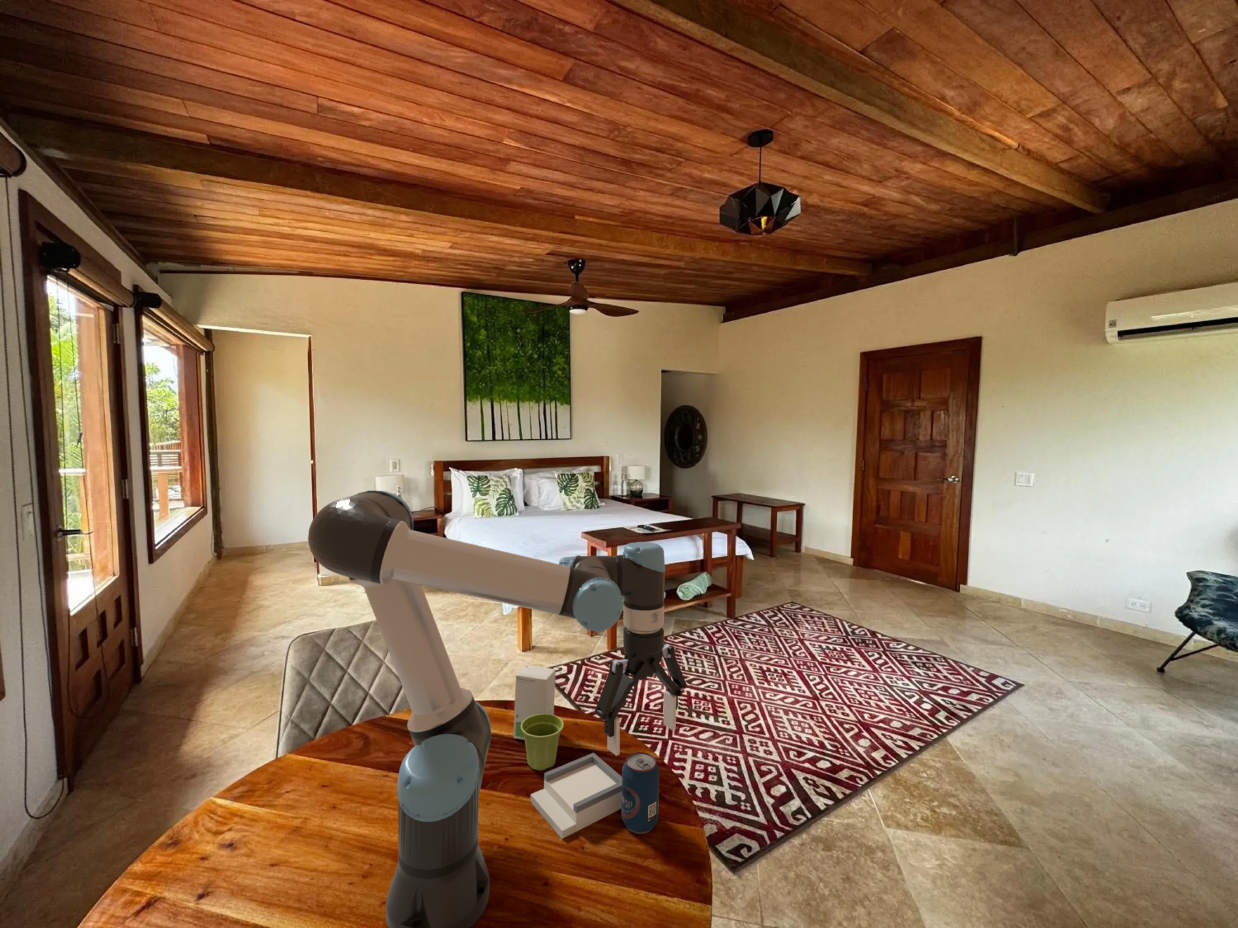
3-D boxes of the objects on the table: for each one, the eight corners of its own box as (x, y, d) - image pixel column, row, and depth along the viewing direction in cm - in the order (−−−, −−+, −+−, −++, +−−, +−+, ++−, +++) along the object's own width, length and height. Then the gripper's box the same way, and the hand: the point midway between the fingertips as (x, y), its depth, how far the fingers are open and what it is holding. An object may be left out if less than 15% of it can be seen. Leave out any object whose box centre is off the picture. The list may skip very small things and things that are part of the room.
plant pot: (566, 751, 122) (567, 714, 121) (558, 777, 113) (558, 737, 112) (527, 748, 123) (527, 711, 122) (515, 773, 113) (515, 734, 113)
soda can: (613, 819, 100) (614, 758, 100) (641, 804, 105) (642, 745, 104) (637, 842, 95) (638, 777, 94) (665, 824, 99) (667, 762, 99)
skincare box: (512, 738, 127) (513, 675, 126) (523, 724, 133) (524, 663, 132) (545, 743, 125) (546, 679, 124) (555, 728, 131) (556, 667, 130)
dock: (561, 838, 95) (562, 813, 95) (530, 801, 105) (530, 778, 105) (627, 805, 104) (628, 782, 104) (593, 773, 114) (593, 752, 114)
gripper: (600, 649, 87) (599, 773, 88) (705, 619, 102) (704, 725, 103) (575, 635, 93) (575, 752, 94) (678, 608, 108) (677, 709, 109)
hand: (642, 738), depth 99 cm, fingers open, 13 cm apart
